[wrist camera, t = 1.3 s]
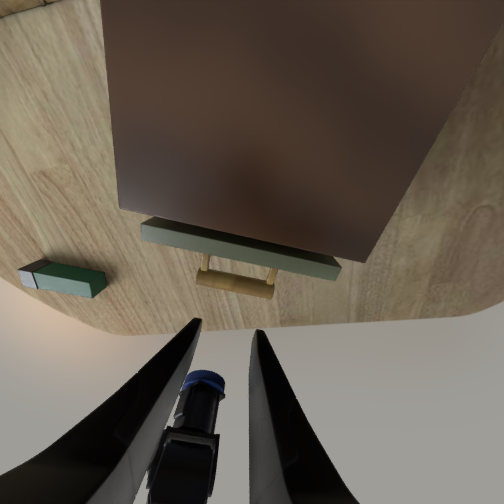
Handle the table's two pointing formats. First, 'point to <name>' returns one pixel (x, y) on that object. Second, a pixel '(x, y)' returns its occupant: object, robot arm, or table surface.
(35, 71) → the table surface
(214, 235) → the drawer
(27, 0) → the cookie
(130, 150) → the cabinet
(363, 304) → the table surface
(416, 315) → the table surface
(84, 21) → the table surface
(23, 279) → the green marker
